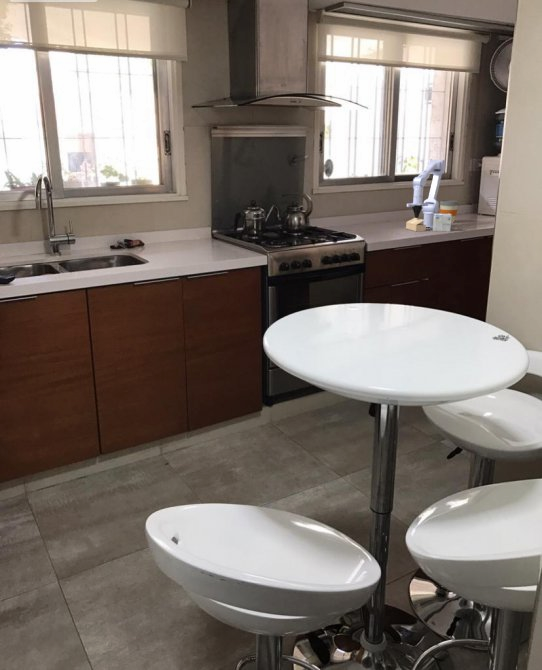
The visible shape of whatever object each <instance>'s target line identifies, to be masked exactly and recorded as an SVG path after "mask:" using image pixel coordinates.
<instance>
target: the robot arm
mask: <svg viewBox="0 0 542 670" xmlns="http://www.w3.org/2000/svg"><path fill="white" fill-rule="evenodd" d="M445 171H446V161H445V159H430V160H429V161H428V164H427V167H426V169H424V170H422V171H421V172H420V174H419V175H418V176H415V177H414V178H413V179H412V186H413V187H412V189H413V198H412V200H413V201H412V202H411V203H409V202H408V203H406V207H407V208H410V207H411V209H412V211H413V213H414V218H418V219H419V218H420V216H419V215H420V214H421V212H422V214H423V220H425V221H423V222H422V224H424V225H426V227H430V228H431V229H433V217H434V214H438V212H439V210H440V208H439V207H440V206H439V205H440V203H439V201H438V200H437V195H438V193H439V189H440V183H441V180H442V176H443V174H444V173H445ZM431 174H433V175H432V176H433V177H432V182H431V185H430V189H429V193H428V198H426V199H425V200H424V201H423V198H424V197H423V196H424V187H425V186H426V182H427V180H428V179H429V177H430V175H431Z"/></svg>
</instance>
